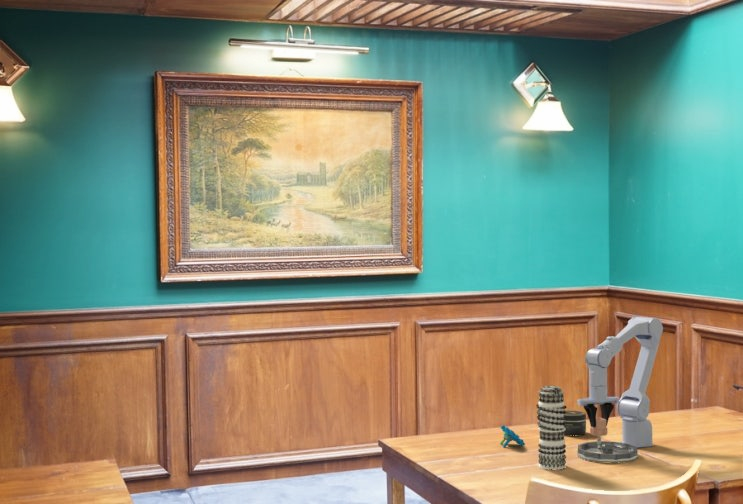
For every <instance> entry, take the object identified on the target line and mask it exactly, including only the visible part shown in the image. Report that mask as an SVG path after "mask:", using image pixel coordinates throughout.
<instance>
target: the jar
mask: <svg viewBox="0 0 743 504" xmlns="http://www.w3.org/2000/svg"><path fill="white" fill-rule="evenodd" d="M565 411H566V412H567V413H565V414H563V416H564V417H566V420H564V422H565V423H566V425H564V428H565V429H566V430H565V431H564V436H565V435H572V436H571V437H576V436H575V435H582V436H584V435H585V434H586V431H587V413H586V412H584V411H581V410H565ZM583 434H584V435H583ZM573 435H574V436H573Z"/></svg>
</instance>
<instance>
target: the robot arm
mask: <svg viewBox="0 0 743 504" xmlns="http://www.w3.org/2000/svg"><path fill="white" fill-rule="evenodd" d="M663 330H664V327H663V323H662V321H661V319H660V318H658V317H644V316H639V315H638V316H637V315H634V316H632V317H631V319H629V320H628V321H627V325H626V326H624V328H622V330H621V331H620V332H619V333H617V335H616V336H613V335H612V336H607V337H606V339H605V340H603V342H602V343H600V344H598V345H597V346H596V347H594V348H591V349H589V350H588V351H587V352H586V354H585V356H584V361H585V363H586V365H587V371H589V372H588V374H589V375H588V379H589V380H588V381H589V382H588V383H589V385H588V386H589V397H585V398H581V399H577V402H576V403H577V406H579V407H583V409H584V410H585V413H586V416H587V417H588V421H589V424H590V428H591V427H596V418H597V412H598V407H596V405H597V406H598V405H599V409H600V413H601V414H600V415H601V417H600V418H603V419H606V427H607V426H608V422H609V418H610V416H611V413H612V412H613V410H614V407H615V405H614V404H616V411H617V414H618V415H619V418H620V419H621V420H622V421H621V425H622V427H621V428H622V429H621V430H622V431H621V432H622V433H621V434H622V437H621V438H622V441H619V442H620V443H627V444H630V445H633V446H635V447H637V449H638V448H647V447H655V446H654V445H655V444H653V426H652V422H651V420H650V419H648V417H649V414H650V404H651V399H650V398H649V396H648V395H647V393H646V392H647V388H648V385H649V381H650V379H651V374H652V372H653V368H654V364H655V360H656V357H657V354H658V349H659V345H660V342H661V337H662V335H663ZM633 338H635V339H636V340H637V342H639V343H640V345H641V346H640V351H639V355H638V358H637V361H636V364H635V368H634V372H633V375H632V378H631V382H630V385H629V388H628V389H627V390H626V391H624V392H623V393H621V397H619V396H608V367H609V365H610V364H611V361H612V359H613V358H614V357H615V356H616V355H618V353H620V352H621V351H622V350H623V345H624V344H626V343H627V342H628V341H630V340H631V339H633Z"/></svg>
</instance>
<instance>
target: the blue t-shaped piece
mask: <svg viewBox="0 0 743 504" xmlns="http://www.w3.org/2000/svg"><path fill="white" fill-rule="evenodd" d="M500 429H502V433H503V439H502V440H501V442H499V444H500V445H502V447H503V448H506V447H507V446H508V445H509V443H511V442H512V441H513V442H516V445H520V446H522V447H523V446H525V445H526V442H524V440H523V439H522V438H520V436H519V435H518V434H516V433H515V431H514V430H512V429H510V428H509V427H508V426H505V425H503V424H502V425H501V426H500Z"/></svg>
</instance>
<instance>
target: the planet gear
mask: <svg viewBox="0 0 743 504" xmlns="http://www.w3.org/2000/svg"><path fill="white" fill-rule="evenodd" d="M589 435H592V436H594V437H595V436H597V437H602V436H604V437H605V436H607V435H608V427H607V426H606V419H603V418H602V417H596V427H591V426H590V427H589Z"/></svg>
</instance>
